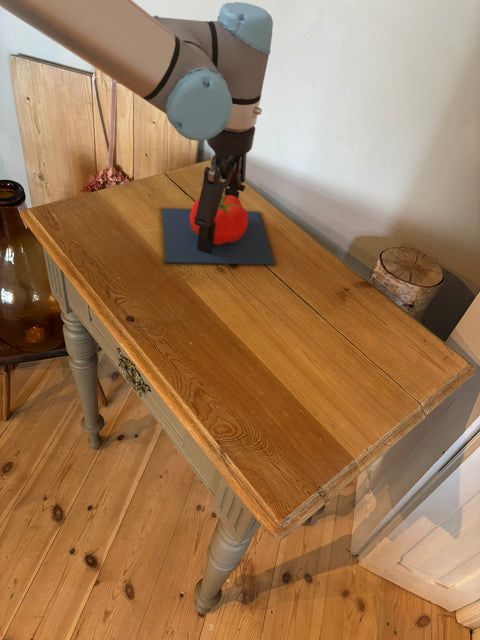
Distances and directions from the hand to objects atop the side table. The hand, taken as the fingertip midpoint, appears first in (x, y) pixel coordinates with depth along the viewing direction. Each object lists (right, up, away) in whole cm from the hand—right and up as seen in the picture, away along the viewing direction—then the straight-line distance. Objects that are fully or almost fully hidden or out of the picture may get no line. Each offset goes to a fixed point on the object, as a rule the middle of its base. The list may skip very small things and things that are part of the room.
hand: (216, 233), depth 89 cm
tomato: (0, 0, 0) cm, 0 cm away
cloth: (0, 0, 0) cm, 1 cm away
